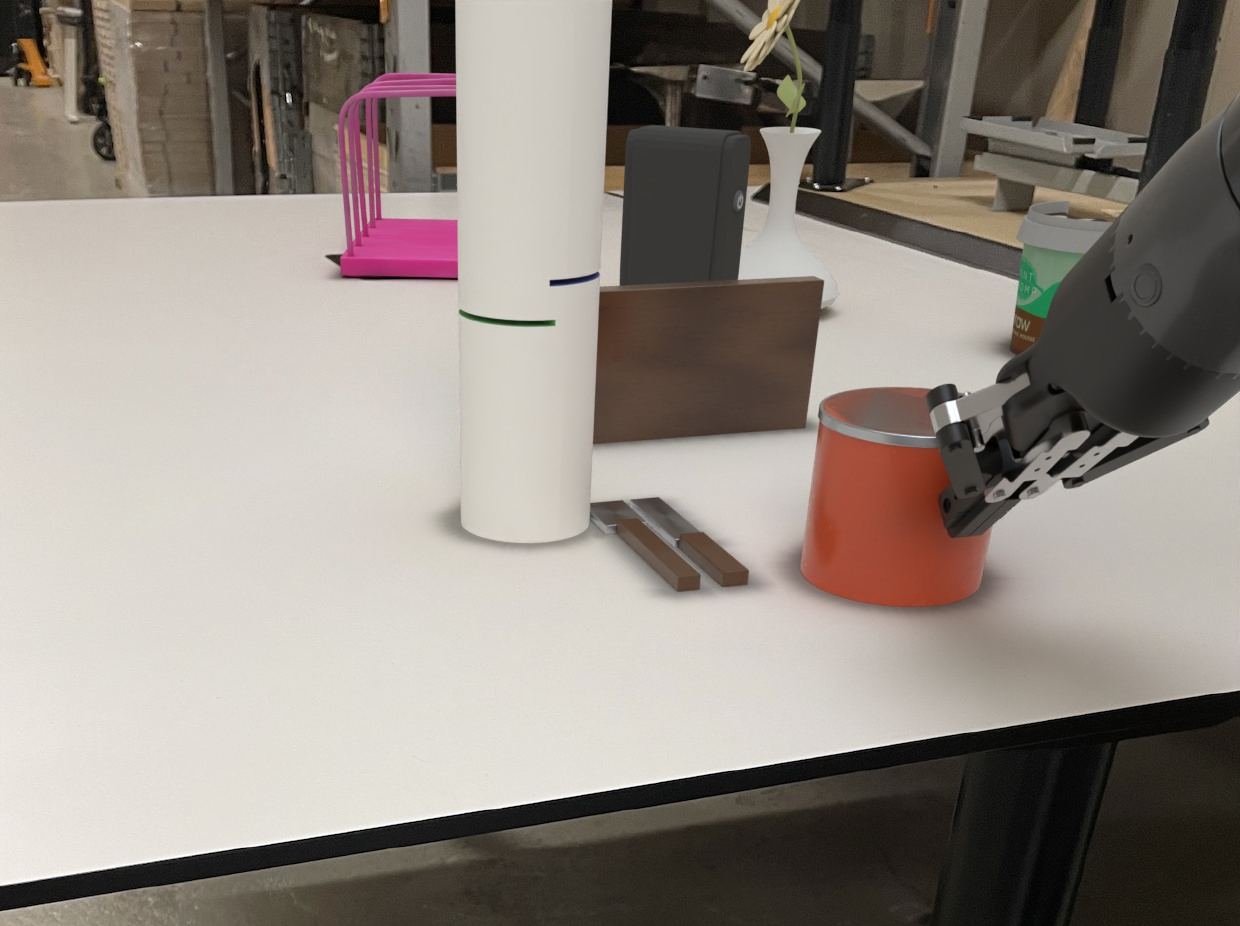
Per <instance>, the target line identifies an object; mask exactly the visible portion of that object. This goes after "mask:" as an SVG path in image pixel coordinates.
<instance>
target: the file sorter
mask: <svg viewBox="0 0 1240 926" xmlns="http://www.w3.org/2000/svg"><path fill="white" fill-rule="evenodd" d="M418 97H419V98H422V97H423V98H427V97H428V98H429V97H433V98H434V97H456V73H439V72H438V73H437V72H434V73H433V72H387V73H384V74H382V75H380V76H379V77H377V78H376V79H374V80H373V82H371V83H369V84H367V85H365V86H364V87H363V88H361V90H360V91H359V92H357V93H355V94H353V95H352V96H350V97H349V98H348V99H347V100H346V101H345V102H344V103H343V105H342V106H341V109H340V112H339V115H338V119H337V132H338V147H339V162H340V163H339V164H340V175H341V188H342V201H343V202H342V203H343V212H344V213H343V214H344V227H345V238H346V239H345V240H346V249H345V251H344V252H343V253H342V255H341V256H340V258H339V259H340V260H339V261H340V275H341V276H346V277H351V278H353V277H354V278H382V277H407V278H409V277H411V278H450V279H451V278H453V279H458V219H441V218H440V219H439V218H432V219H431V218H386V217H382V197H381V174H380V149H379V120H378V117H379V116H378V101H379V99H385V98H387V99H389V98H390V99H391V98H418ZM363 100H365V129H366V130H365V131H366V134H365V135H366V158H367V159H366V160H367V163H366V164H367V183H368V185H367V186H368V187H367V188H368V205H369V206H368V207H369V208H368V209H369V210H368V211H369V221H368V214H367V202H366V191H365V178H364V166H363V156H362V141H361V127H360V107H361V102H362V101H363ZM346 115H347V122H346V121H345V120H346ZM345 122H346V123H347V141H348V155H349V157H348V158H349V170H350V183H351V184H350V185H351V200H352V213H353V215H351V203H350V192H349V177H348V164H347V151H346V134H345ZM351 216H353V225H354V227H353V228H354V240H353V229H352V217H351ZM360 219H361V220H360ZM361 229H362V230H361Z"/></svg>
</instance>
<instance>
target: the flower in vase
mask: <svg viewBox="0 0 1240 926" xmlns="http://www.w3.org/2000/svg"><path fill="white" fill-rule="evenodd" d="M800 2H801V0H768V1H767V9H765V11H764V12H763V14H762V17H761V21H760V22H759V23H758V24H755V26H754V27H753V28H752V30H751V32H750V33H749V36H748V39H749V40H750V41H753V40H754V41H753V42H752V44H751V45H750V46H749V47H748V48H747V50H746V51H745V52H744V53H743V55H742V56H741V58H740V64H744V63H746V64H745V65H744V68H743V72H744V73H746V72H749V71H750V72H752V71H753V70H755V68H756V67H757V66H759V65H760V64H761V63H762V62H763V61H764V60H765V58H766V57H767V56H768V55H769V54H770V52H772V50H773V48H774V47H775V45H776V43H777V42H778V41H779V39H780V38H781V36H782V34H784V33H786V36H787V39H788V42H789V45H790V48H791V52H792V55H793V59H794V63H795V68H796V75H797V88H796V86H795V84H794V83H793V80H792V78H791V76H790V75H789V74H787V75H786V76H785V77H784V78H783V80H782V81H781V83H780V84H779V86H778V87H777V90H776V94H777V97H778V98H779V100H780V101H781V102H782V103H783V104H784V105H785V106H786V108H787V109H788V111H787V113H786V115H785V118H787V117H789V115H790V114H792V119H791V123H790V126H772V127H771V126H770V127H769V126H768V127H762V128H760V129H759V133H760V134H761V137H762V139H763V140H764V143H765V146H766V148H767V152H768V157H769V168H770V169H769V170H770V188H769V189H770V191H769V202H768V209H767V215H766V218H765V219H766V220H765V223H764V225H763V228H762V230H761V232H760V233H759V234H758V235H757V237H755V239H754V240H752V241H751V242H750V243H749V244H748V245H746V247H744V248H743V249H741V256H740V266H739V275H738V280H744V279H764V278H785V277H805V276H815V277H817V278H820V279H822V280H824V288H823V296H822V304H821V310H822V309H825V308H826V307H829V306H831V305H833V304H834V303H835V302H836V300H837V299H838V298H839V296H840V291H839V285H838V282H837V281H836V279H835V277H834V276H833V274H832V273H831V272H830V270H829V269H828V268H827V267H826V266H825V265H824V263H822V261H821V260H820V259H819V258H818V257H817V256H816V255H815V253H813V252H812V250H810V248H809V247H808V246H807V245H806V244H805V242H804V241H803V240H802V238H801V237H800V236H801V235H800V234H799V232H798V230H797V226H796V207H797V197H798V196H797V195H798V191H799V185H800V181H801V175H802V171H803V168H804V164H805V162H806V158H807V156H808V154H809V152H810V149H811V148H812V146H813V144H814V143H815V141H816V140H817V139H818V137H819V136H820V134H821V133H822V130H821V129H818V128H813V127H802V126H801V127H800V126H796V124H797V119H798V113H800V112H801V111H802V110H803V109H804V108H805V107H806V105H807V102H806V100H805V98H804V97H803V96H802V93H803V91H804V88H805V85H806V82H803V73H802V66H801V65H802V64H801V61H800V56H799V53H798V48H797V46H796V45H797V44H796V42H795V39H794V35H793V32H792V29H791V27H790V22H791V21H792V18H793V16H794V14H795V11H796V9H797V7H798V6H799V4H800Z"/></svg>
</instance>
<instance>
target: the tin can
mask: <svg viewBox="0 0 1240 926" xmlns="http://www.w3.org/2000/svg"><path fill="white" fill-rule="evenodd" d="M932 389H933V388H927V387H913V386H879V387H877V386H876V387H864V388H856V389H851V390H850V389H849V390H844V391H840V392H837V393H834V394H831V395H829V396H827V397H825V398H823V399H822V400H821V402H820V403H819V405H818V413H817V417H818V420H819V422H818V430H817V437H816V444H815V452H814V460H813V467H812V474H811V482H810V490H809V496H808V497H809V498H808V505H807V512H806V520H805V529H804V535H803V541H802V542H803V544H802V551H801V560H800V566H799V569H800V573H801V575H802V576H803V578H804V579H805V580H806V581H807V582H808V583H810V584H811V585H813V586H814V587H816V588H818V589H820V590H822V591H824V592H826V593H828V594H831V595H834V596H837V597H840V598H842V599H847V600H850V601H855V602H859V603H865V604H870V605H876V606H877V605H878V606H884V607H885V606H887V607H903V608H920V607H935V606H943V605H947V604H953V603H956V602H960V601H962V600H965V599H967V598H970V597H971V596H973V595H974V594H975V593H976V592H977V591H978V590H979V588H980V587H981V584H982V579H983V574H984V570H985V564H986V560H987V556H988V552H989V546H990V541H991V536H992V531H993V527H994V525H992V526H991V527H990V528H989V529H988V530H987V531H986V532H985V533H984V534H983V535H980V536H970V537H959V538H951V537H949V535H948V533H947V529H945V527H944V523H943V519H942V516H941V512H940V508H939V504H938V497H939V495H940V494H941V493H942V492H943V491H944V490H945V489H946V488H947V487H948V486H949V485H950V484H951V481H950V479H949V476H948V474H947V471H946V468H945V466H944V463H943V461H942V458H941V456H940V452H939V449H938V445H937V441H936V437H935V433H934V430H933V426H932V422H931V418H930V414H929V410H928V406H927V403H926V399H925V396H926V394H927V393H928V392H929V391H930V390H932ZM962 393H963V392H959V391H958V394H959V396H960V394H962Z"/></svg>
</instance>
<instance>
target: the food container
mask: <svg viewBox="0 0 1240 926" xmlns="http://www.w3.org/2000/svg"><path fill="white" fill-rule="evenodd" d="M1070 202H1071V201H1070V200H1055V201H1045V202H1039V203H1034V204H1032V205H1030V206H1029V208H1028V212H1027V214H1025V215H1024V216H1023V218H1022V221H1021V223H1020V226H1019V228H1018V231H1017V233H1016V236H1015V239H1016V240H1017V241H1018V242H1020V243H1022V244H1023V245H1022V254H1021V260H1020V269H1019V277H1018V283H1017V284H1018V285H1017V293H1016V300H1015V308H1014V315H1013V323H1012V329H1011V330H1012V331H1011V339H1010V345H1009V351H1010V352H1011V353H1012V354H1013V355H1014V356H1017V355H1019V354H1020V353H1022V352H1024V351H1025V350H1027V349H1028V348H1029V347H1031V346H1032V345H1033V344H1034V343H1036V342H1037V340H1038V338H1039V336H1040V334H1041V331H1042V328H1043V325H1044V322H1045V319H1046V316H1047V313H1048V310H1049V307H1050V303H1051V301H1052V298H1053V295H1054V293H1055V291H1056V289H1057V287H1058V286H1059V284H1060V283H1061V281H1062V280H1063V278H1064V277H1065V276H1066V275H1067V273H1068V272H1069V271H1070V270H1071V269H1072V268H1073V267H1074V266H1075V265H1076V263H1077V262H1078V261H1079V260H1080V259H1081V258H1082V257H1083V256H1084V255H1085V253H1086V252H1087V251H1088V250H1089V249H1090V248H1091V247H1092V246H1093V244H1094V243H1095V242H1096V241H1097V240H1098V239H1099V238H1100V237H1101V236H1102V234H1103V233H1104V232H1105V231H1106V230H1107V229H1108V228H1109V227H1110V225H1111V224H1112V223H1113V222H1114V221H1108V220H1106V219H1105V218H1099V217H1093V218H1084V217H1083V218H1082V217H1078V216H1075V215H1072V214H1069V209H1070V204H1071V203H1070Z"/></svg>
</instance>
